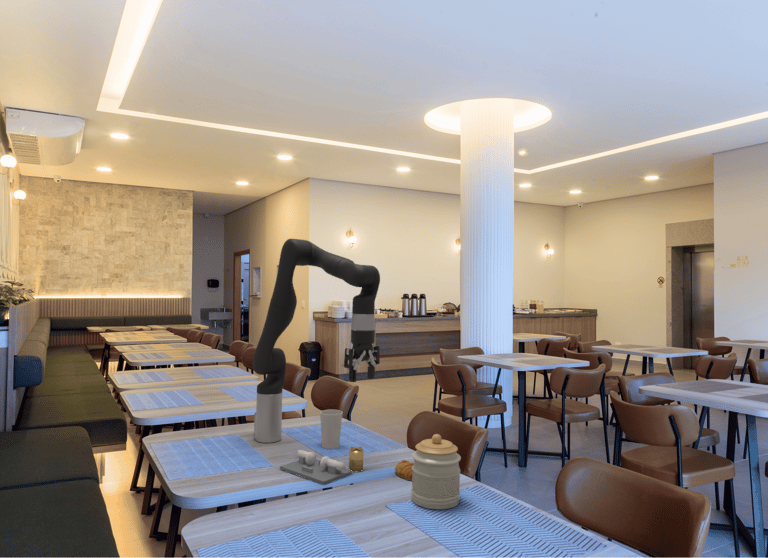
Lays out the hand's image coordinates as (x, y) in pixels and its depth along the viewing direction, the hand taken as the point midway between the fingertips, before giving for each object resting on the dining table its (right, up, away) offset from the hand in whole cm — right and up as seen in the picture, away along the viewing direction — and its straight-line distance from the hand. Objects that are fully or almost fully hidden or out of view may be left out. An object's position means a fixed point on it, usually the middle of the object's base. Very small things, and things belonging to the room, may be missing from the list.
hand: (361, 380), depth 168 cm
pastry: (+14, -28, -6) cm, 32 cm away
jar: (+21, -28, -25) cm, 43 cm away
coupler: (-2, -27, -2) cm, 27 cm away
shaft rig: (-14, -27, -5) cm, 31 cm away
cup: (-12, -28, +22) cm, 37 cm away
